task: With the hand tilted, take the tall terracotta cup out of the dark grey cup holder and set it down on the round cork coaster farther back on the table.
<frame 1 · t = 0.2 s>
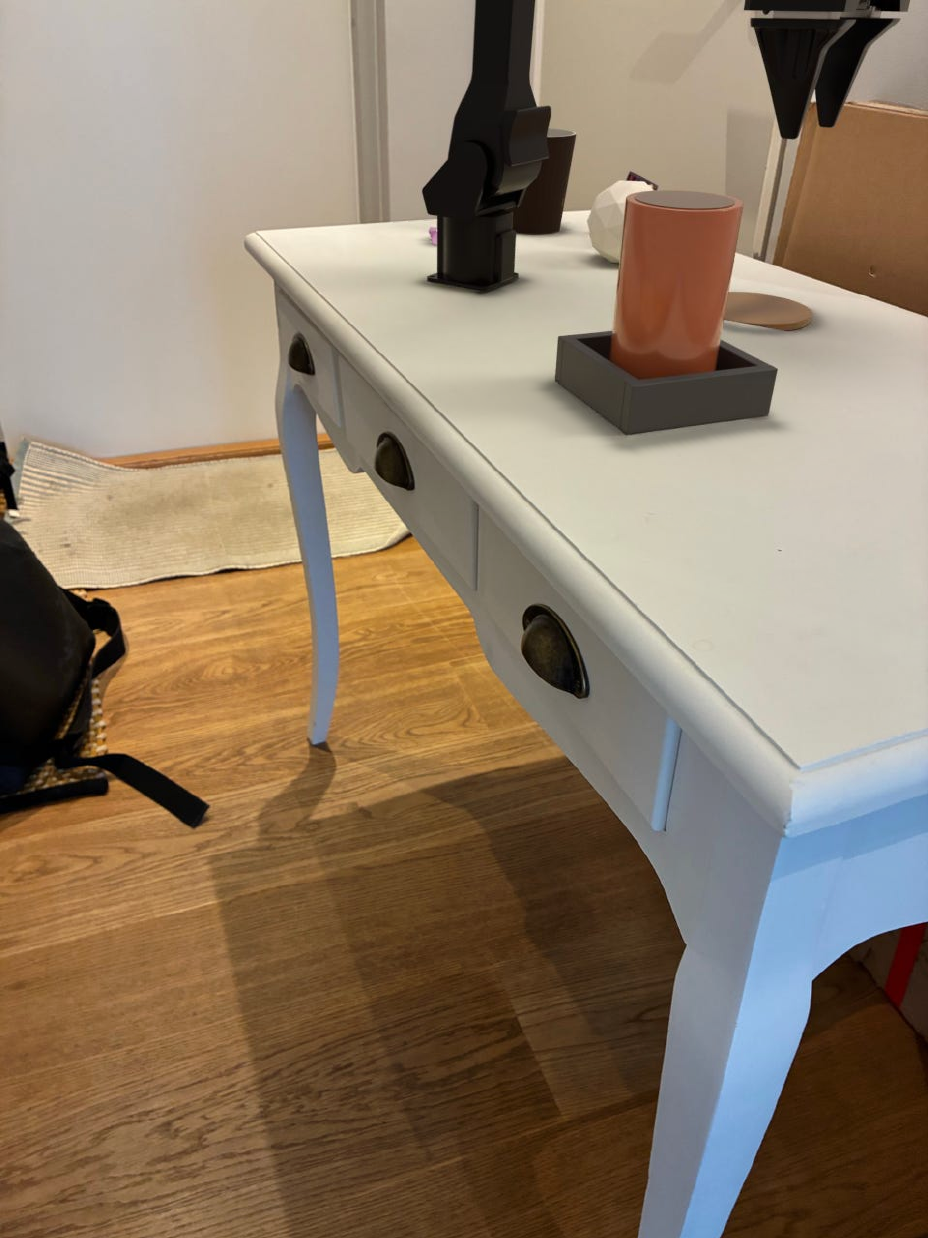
hand: (808, 132, 68), 15 cm above the table, tool pointing down, fingers open, 9 cm apart
cup: (657, 396, 62), point 1 cm above the table, touching holder
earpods: (438, 244, 102), on the table
coffee mug: (533, 227, 110), on the table
geometric ball: (622, 263, 96), on the table
holder: (656, 405, 62), on the table
game card: (635, 242, 105), on the table
coaster: (750, 314, 81), on the table
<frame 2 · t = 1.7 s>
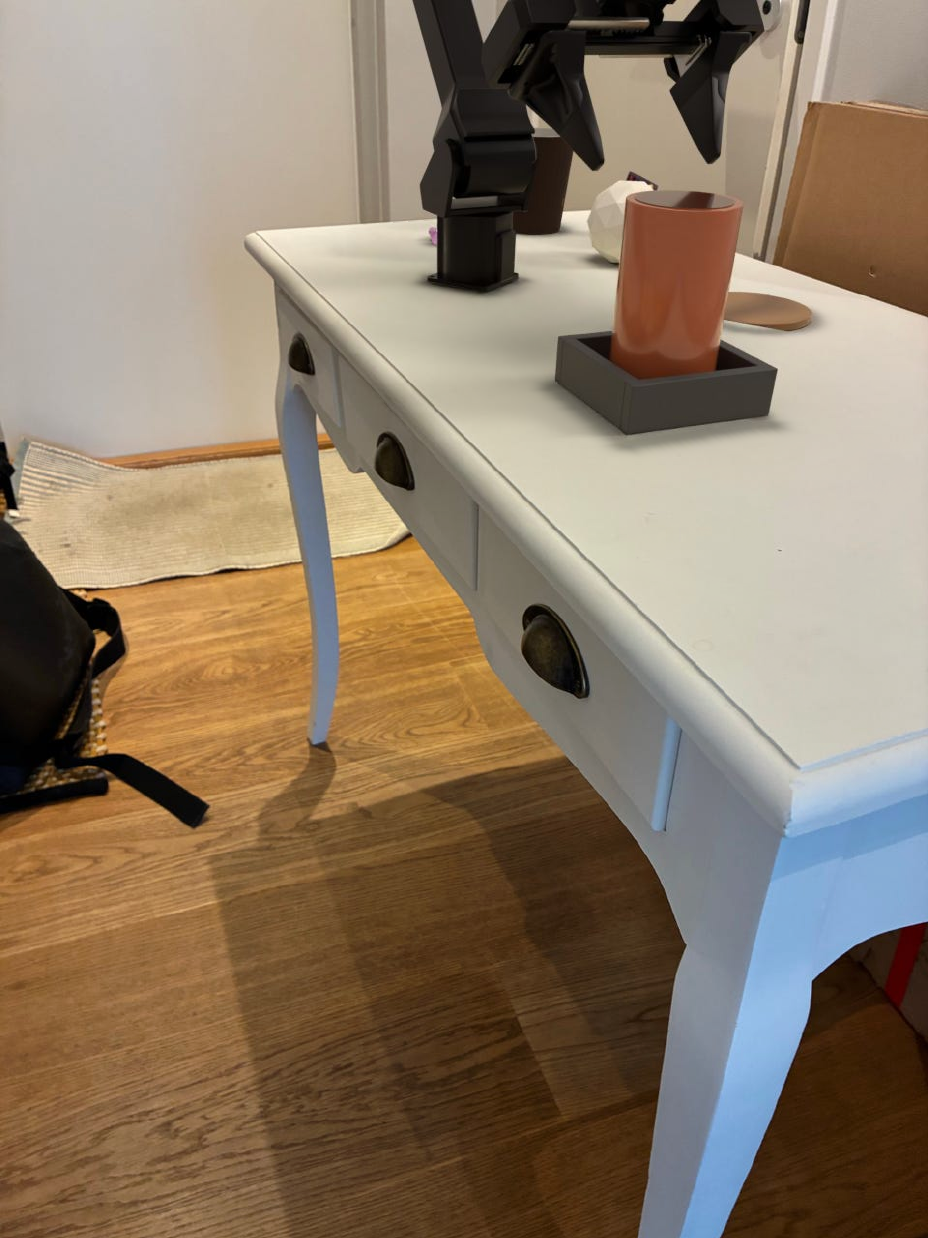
hand: (658, 163, 61), 13 cm above the table, tool tilted 40°, fingers open, 9 cm apart
nothing on the table moved.
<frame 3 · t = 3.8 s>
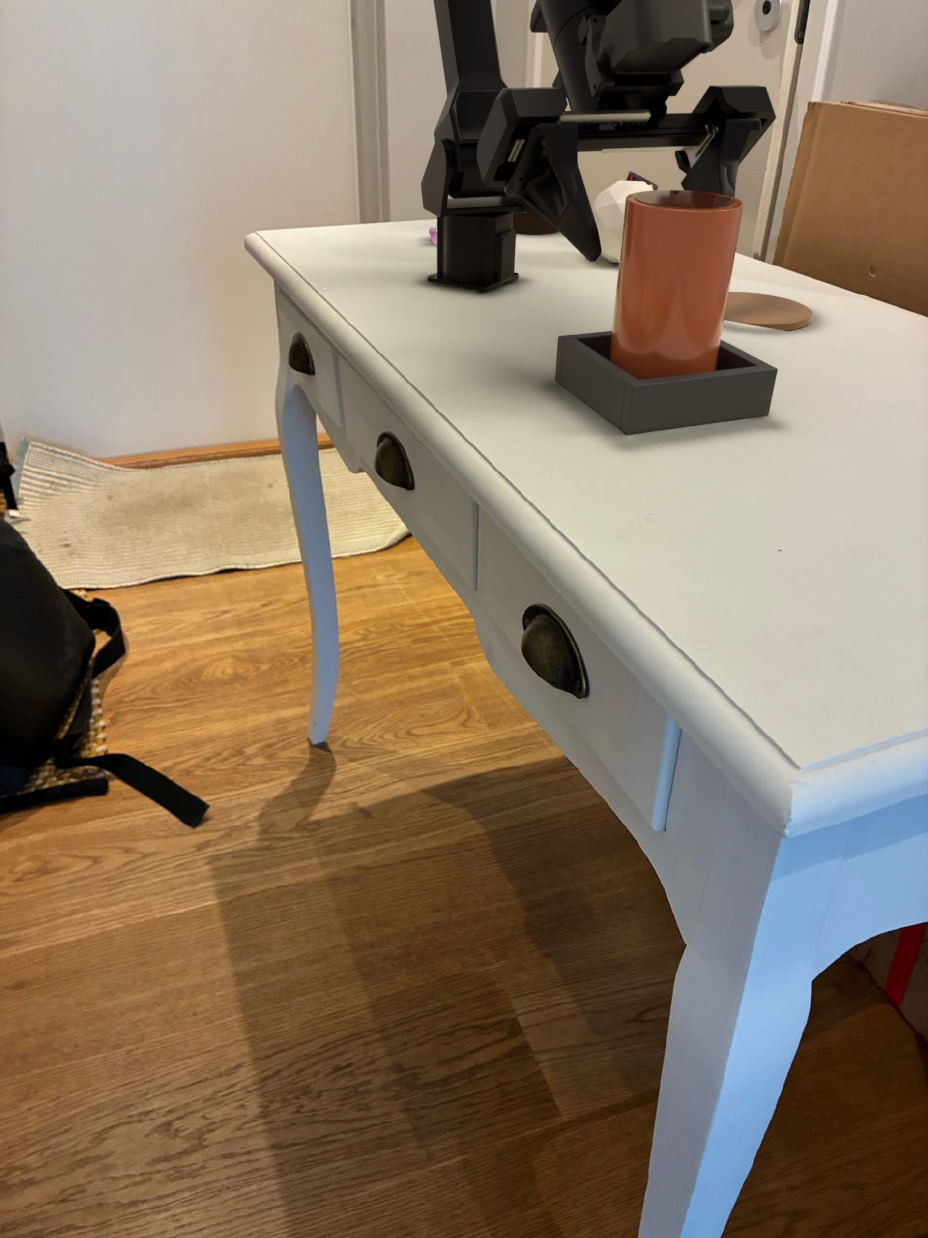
hand: (662, 252, 58), 9 cm above the table, tool tilted 45°, fingers open, 9 cm apart
nothing on the table moved.
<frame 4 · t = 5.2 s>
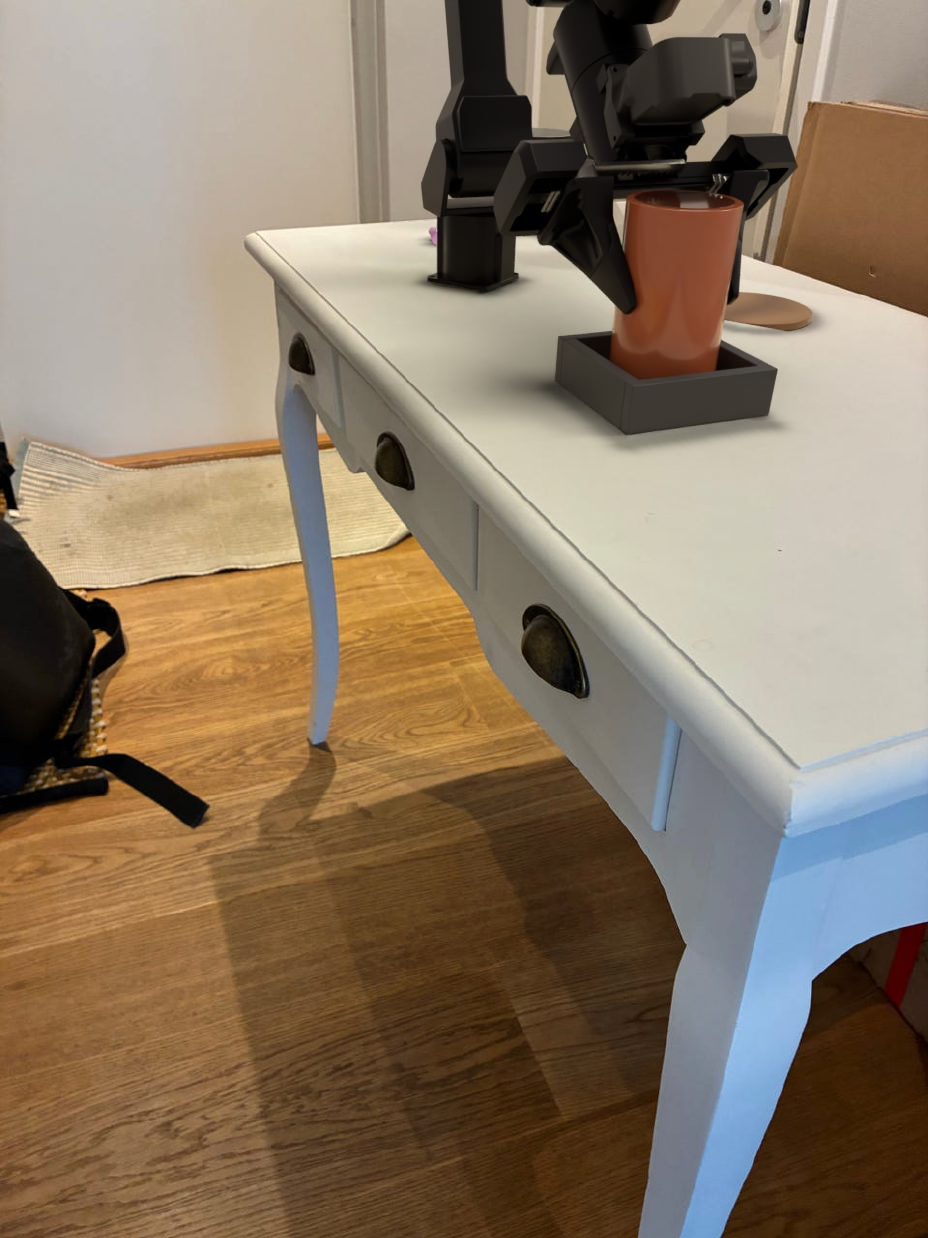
hand: (682, 306, 57), 7 cm above the table, tool tilted 45°, fingers closed on cup, 7 cm apart
cup: (657, 396, 62), point 1 cm above the table, touching gripper, holder
everything else where it was.
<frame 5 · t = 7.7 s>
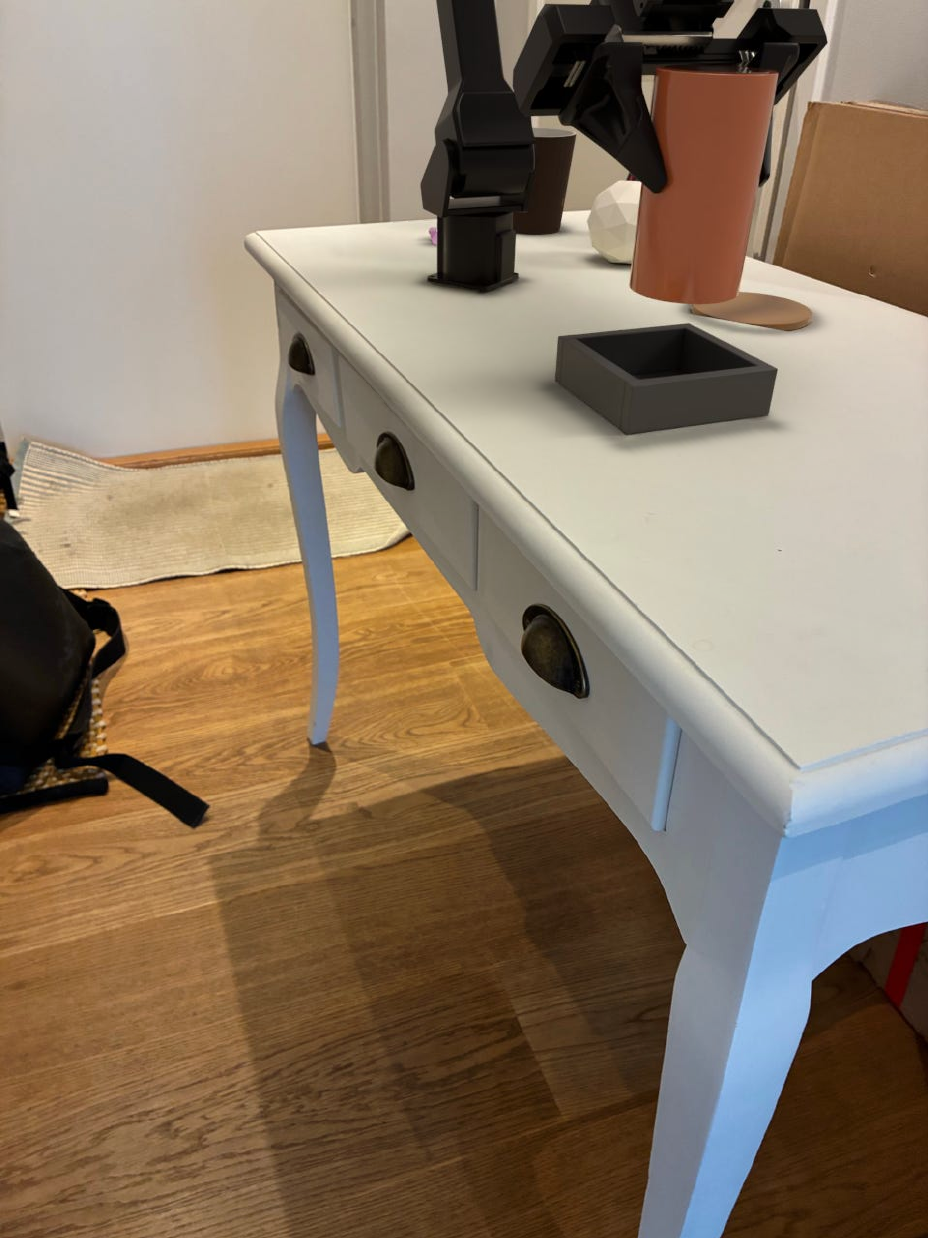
hand: (712, 185, 55), 13 cm above the table, tool tilted 45°, fingers closed on cup, 7 cm apart
cup: (683, 289, 59), point 7 cm above the table, touching gripper
everything else where it was.
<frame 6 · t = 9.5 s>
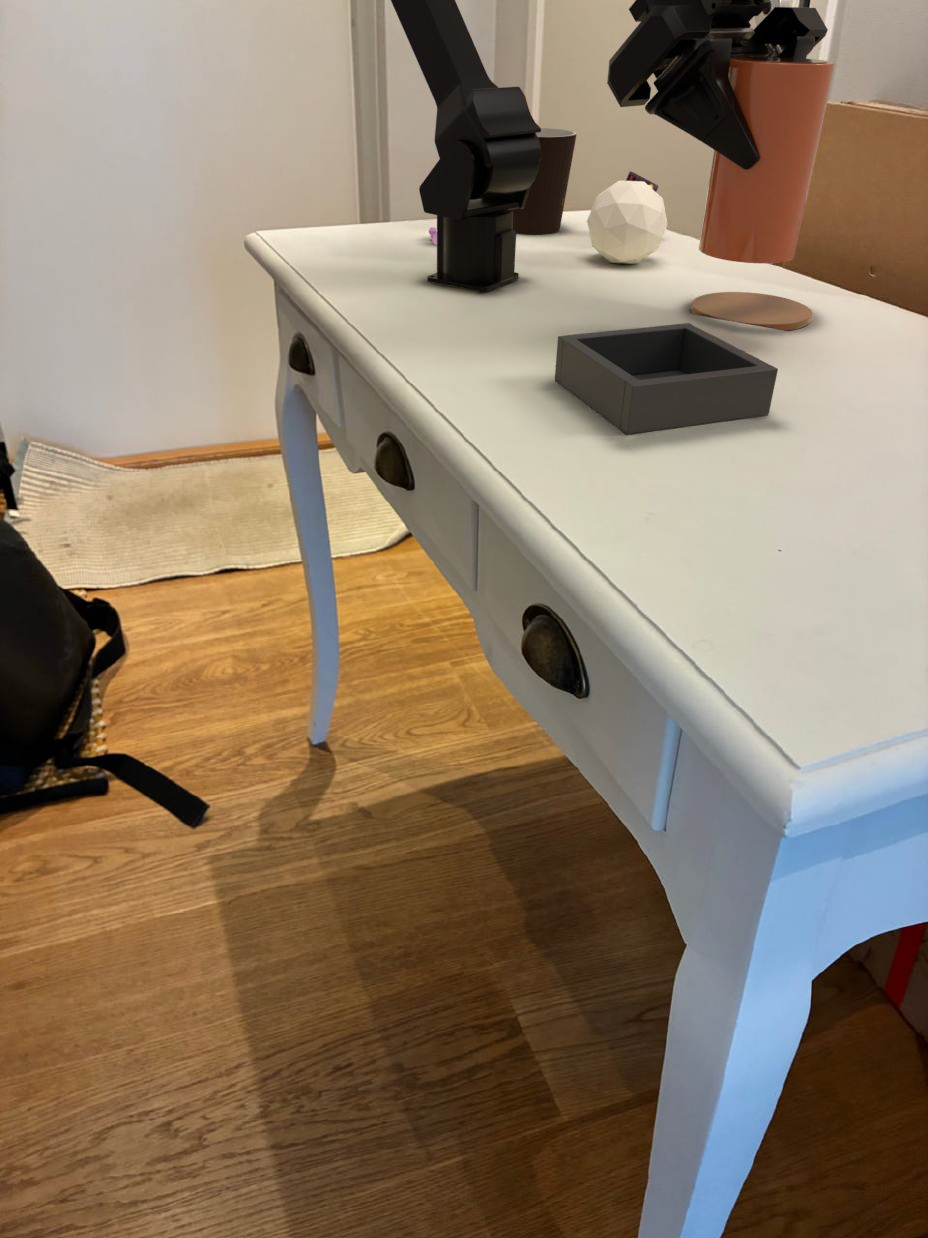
hand: (781, 160, 64), 13 cm above the table, tool tilted 45°, fingers closed on cup, 7 cm apart
cup: (746, 251, 68), point 7 cm above the table, touching gripper
everything else where it was.
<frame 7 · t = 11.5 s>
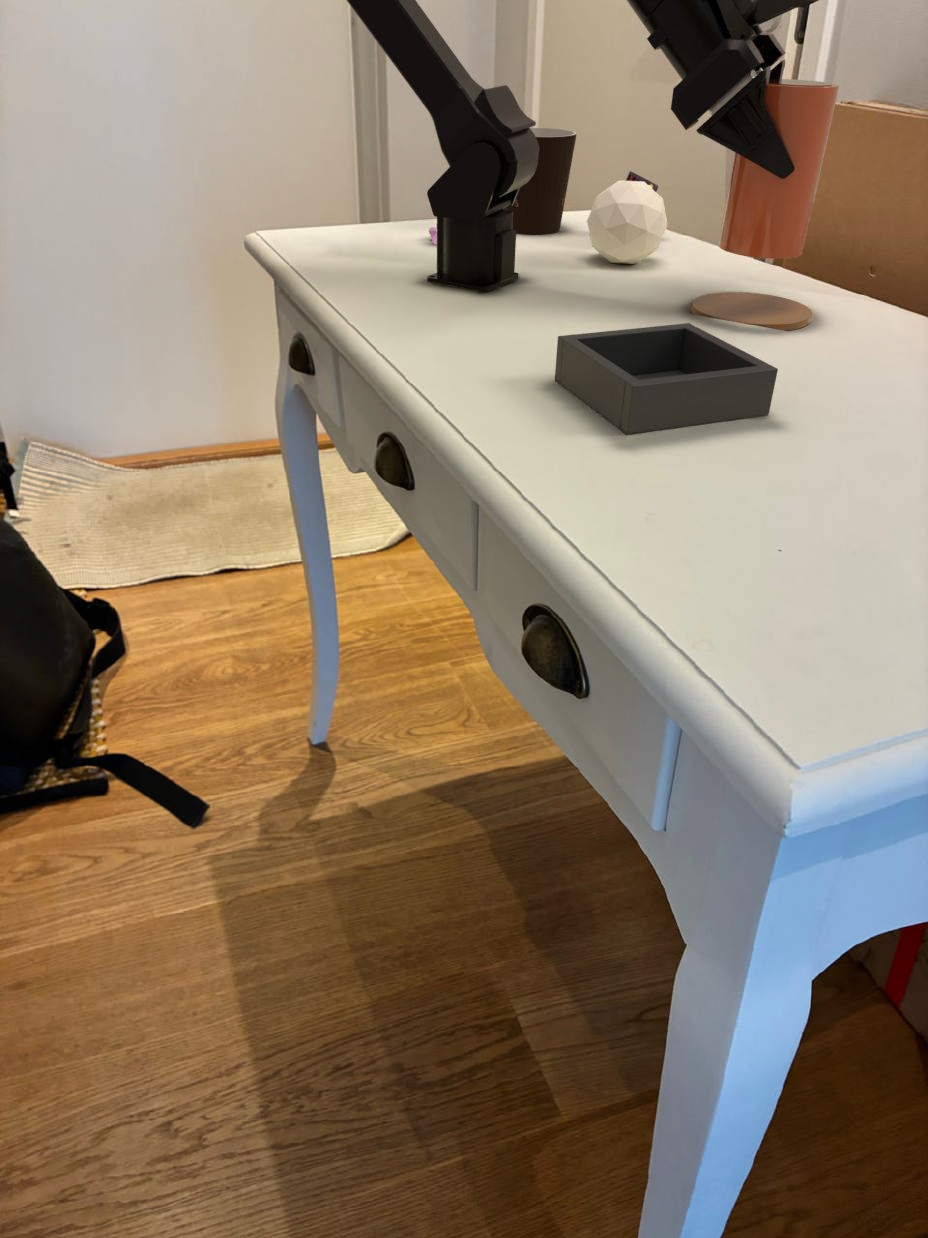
hand: (793, 168, 74), 12 cm above the table, tool tilted 45°, fingers closed on cup, 7 cm apart
cup: (760, 248, 78), point 5 cm above the table, touching gripper
everything else where it was.
when the fingers open (7 cm above the table, at t = 13.4 s): cup stays where it is, resting on coaster.
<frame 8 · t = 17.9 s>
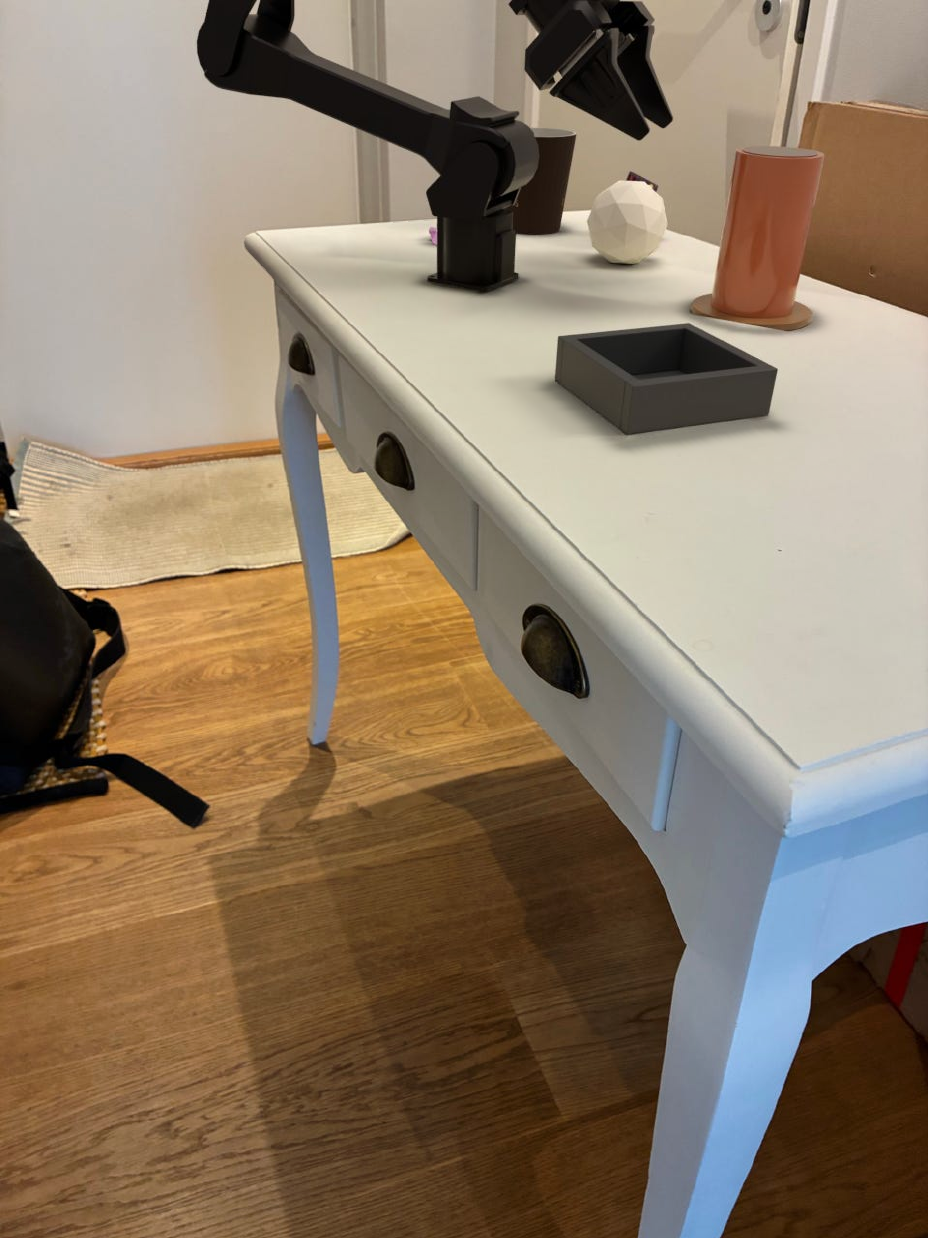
hand: (657, 129, 76), 14 cm above the table, tool tilted 45°, fingers open, 9 cm apart
cup: (751, 306, 81), point 1 cm above the table, touching coaster
everything else where it was.
at the end: cup 0.0 cm off-centre on the coaster, point 0.6 cm above the coaster's base; cup tilted 0°; cup touching coaster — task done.
